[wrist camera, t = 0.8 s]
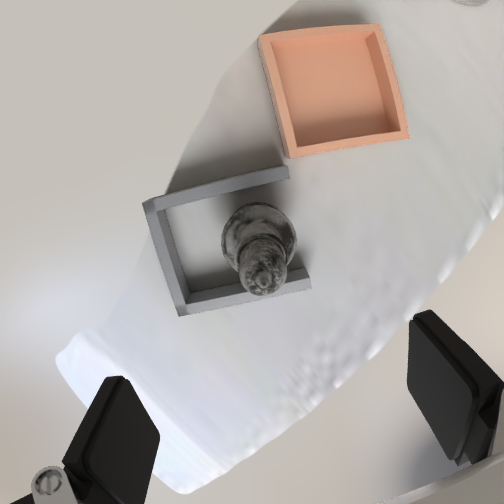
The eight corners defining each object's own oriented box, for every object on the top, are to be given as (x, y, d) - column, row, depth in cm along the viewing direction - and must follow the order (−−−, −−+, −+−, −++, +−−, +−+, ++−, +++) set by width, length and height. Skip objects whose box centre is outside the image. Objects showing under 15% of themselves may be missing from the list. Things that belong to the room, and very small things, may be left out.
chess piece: (210, 235, 29) (187, 290, 17) (254, 185, 27) (260, 207, 16) (260, 276, 30) (268, 350, 18) (304, 229, 29) (341, 279, 17)
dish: (367, 34, 23) (379, 24, 20) (394, 139, 26) (409, 138, 23) (257, 46, 24) (258, 35, 21) (285, 158, 27) (290, 158, 24)
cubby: (283, 165, 27) (287, 166, 25) (306, 277, 30) (311, 288, 28) (150, 198, 28) (141, 202, 25) (183, 304, 31) (178, 316, 28)
